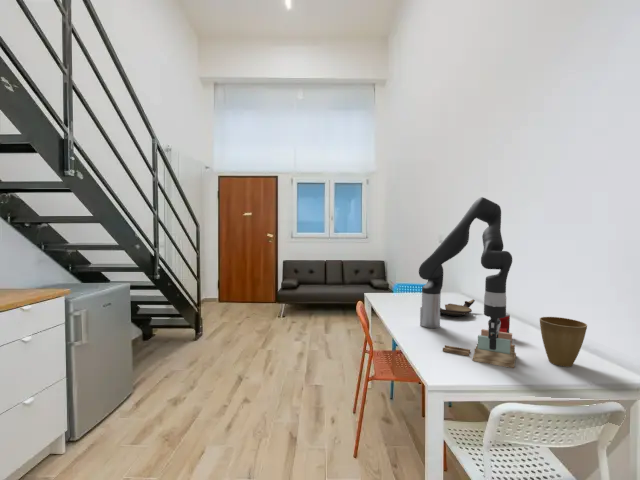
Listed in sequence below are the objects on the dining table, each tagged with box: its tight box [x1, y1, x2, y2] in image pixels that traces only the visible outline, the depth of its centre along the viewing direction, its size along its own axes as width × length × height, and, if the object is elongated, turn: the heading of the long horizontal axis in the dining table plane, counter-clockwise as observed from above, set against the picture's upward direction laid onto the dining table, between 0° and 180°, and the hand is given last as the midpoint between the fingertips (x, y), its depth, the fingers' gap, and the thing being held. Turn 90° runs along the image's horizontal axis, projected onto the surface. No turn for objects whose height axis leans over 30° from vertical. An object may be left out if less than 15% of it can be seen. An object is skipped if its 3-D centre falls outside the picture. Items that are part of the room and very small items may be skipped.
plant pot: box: [539, 316, 588, 368], centre depth 136 cm, size 15×15×16 cm
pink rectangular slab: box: [480, 328, 513, 347], centre depth 145 cm, size 11×2×8 cm, turn 59°
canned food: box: [499, 312, 511, 333], centre depth 169 cm, size 8×8×11 cm
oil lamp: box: [440, 299, 476, 317], centre depth 211 cm, size 22×30×8 cm
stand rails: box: [442, 344, 471, 357], centre depth 147 cm, size 10×4×1 cm, turn 59°
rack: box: [472, 343, 517, 369], centre depth 141 cm, size 14×15×4 cm
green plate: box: [477, 334, 510, 354], centre depth 137 cm, size 11×2×8 cm, turn 59°
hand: (493, 346), depth 136 cm, fingers open, 8 cm apart
